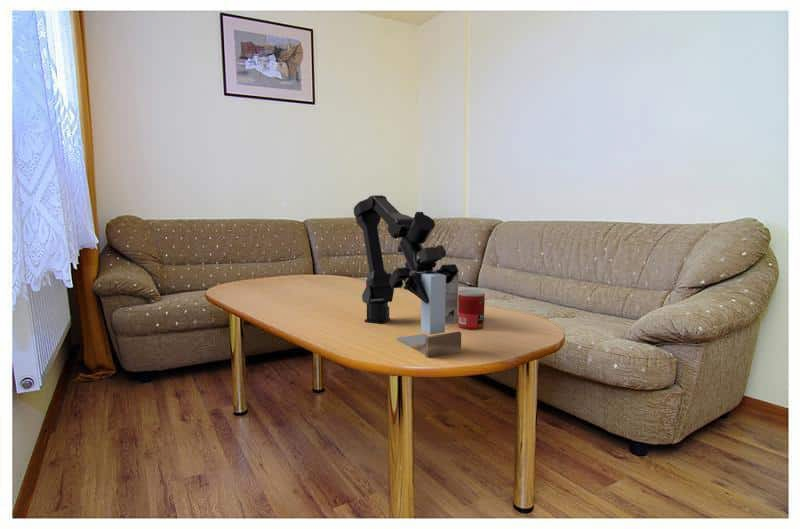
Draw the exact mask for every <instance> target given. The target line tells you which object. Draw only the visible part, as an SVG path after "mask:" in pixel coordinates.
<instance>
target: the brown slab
mask: <svg viewBox="0 0 800 529" xmlns="http://www.w3.org/2000/svg"><path fill="white" fill-rule="evenodd" d="M411 348H412V349H413V350H416V351H418V352H419V353H421V354H423V355H425V357H426V358H433V357H438V356H444V355H445V356H446V355H449V354H455V353H461V352H462V332H461V331H453V332H447V333H438V334H432V335H428V336H426V337H425V346H424V345H422V344H420V343H418V342H412V347H411Z"/></svg>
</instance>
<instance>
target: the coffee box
mask: <svg viewBox="0 0 800 529" xmlns="http://www.w3.org/2000/svg"><path fill="white" fill-rule="evenodd" d="M439 269H440V268H439ZM439 269H435V270H439ZM458 293H459V272H458V273H457V274H456V276H455V277H454V278H453V280H452V281H451V282H450V283H446V295H445V324H458Z"/></svg>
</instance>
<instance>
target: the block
mask: <svg viewBox="0 0 800 529" xmlns="http://www.w3.org/2000/svg"><path fill="white" fill-rule="evenodd" d="M421 282H422V285H423V287H424V289H425V291H426V294H427V296H428V299H429V303H428V304H426V303H425V302H424V301H422V300H421V299H420V300H421V304H420V307H421V308H420V309H421V310H420V312H421V314H420V330H421V331H422V332H423V333H424V334H425V333H426V334H428V335H429V336H432V335H439V334H445V332H446V323H445V295H446V275H443V274H439V273H428V274H422V279H421Z"/></svg>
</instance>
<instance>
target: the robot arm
mask: <svg viewBox="0 0 800 529" xmlns="http://www.w3.org/2000/svg"><path fill="white" fill-rule="evenodd" d="M353 215H354V217H355V221H356V224H357V225H358V226H359V227H360V229H361V230H362V231H363V232H362V234H363V237H364V239H363V240H364V246H365V252H366V258H367V264H368V271H369V272H368V276H367V278H366V281H365V286H366V287H365V288H364V290H363V292H362V295H361V298H362V303H364V304H366V318H365V319H364V322H367V323H375V324H384V323H385V322H388V321H389V320H391V317H390V306H389V303H392V302H393V297H394V293H395V289H401V288H402V287H403V289H404V290H405V291H406V290H407V291H409V292H410V293H411V294H413V295H415V296H416V297H417V298H418V299H419V300H422V301H424V302H425V303H426V304H428V303H429V299H428V296H427V294H426V291H425V289H424V287H423V285H422V274H428V273H439V274H443V275H446V283H450V282H451V281H452V280H453V278H454V277H455V276H456V274H457V273H458V274H459V272H460V270H459V268H458V266H457V265H456V264H455V263H447V264H446V263H445V264H443V263H442V265H441V266H440V268H439V270H436V269H434V268H436V267H437V265H438V264H437V262H438V261H441V260H442V259H443V258H446V256H447V251H446V249H445V247H444V245H442V244H441V245H436V246H430V247H424V246H423V244H425V243H426V242H427V241H428V239H429V237H430V235H431V234H432V232H433V231H434V229H435V227H436V223H435V220H434V219H432V218H431V217H430V216H428V215H426V214H425V213H424V211H416V212H415V213H414V217H412V216H410V215H408V214H404V213H401V212H400V211H399V210H398V209H396V207H395V206H394V205H393V204H391V202H390V201H388V199H387V197H386V196H385V195H383V194H381V195H379V194H378V195H377V194H376V195H375V194H373V195H370V196H368V197H367V198H365V199H364V200H363V199H362V200H360V201H359V202H357V203H356V205H355V206H354V207H353ZM381 219H382V220H383V221H384V222H385V223H386V224H387V226H388V227H387V231H388V233H389V235H390V237H391V238H392V239H395V240H396V239H398V240H399V239H401V240H400V241H399V242H398V243H399V244H398V247H397V253H402V255H403V257H404V259H405V263H404V267H395V269H394V270H393V271H392V274H391V273H388V272H387V271H386V270H385V266H384V258H383V253H382V247H381V240H380V234H379V224H380V222H381ZM403 285H404V286H403Z"/></svg>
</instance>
